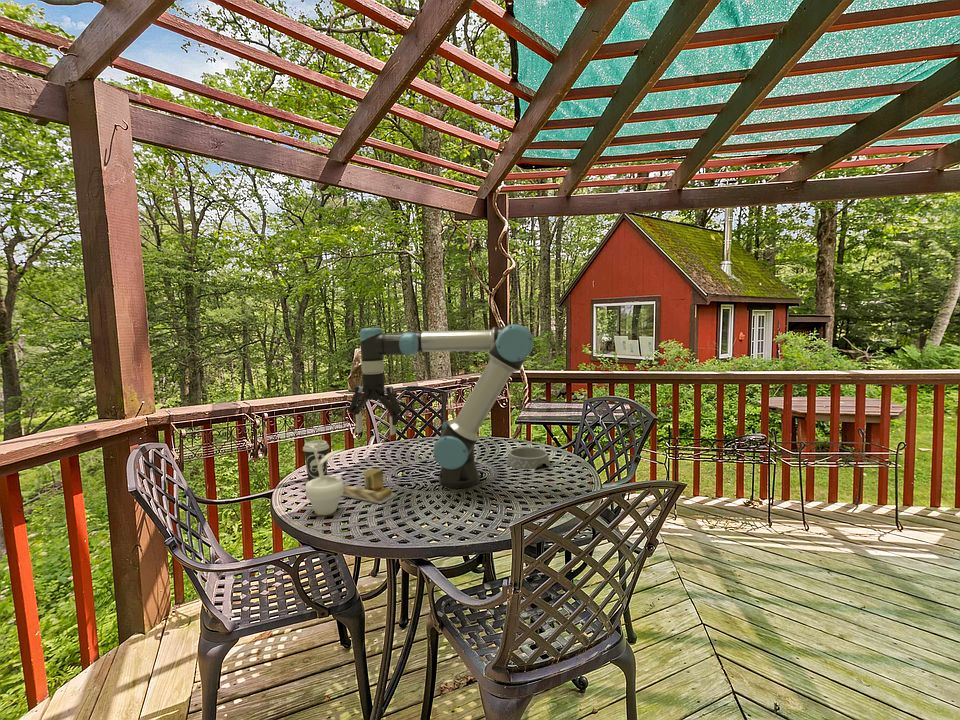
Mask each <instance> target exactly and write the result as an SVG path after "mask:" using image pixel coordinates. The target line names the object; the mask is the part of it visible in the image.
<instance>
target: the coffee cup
mask: <svg viewBox="0 0 960 720" xmlns="http://www.w3.org/2000/svg"><path fill="white" fill-rule="evenodd" d="M319 441H320V443H321V444H323V445H322V446H321V448H320V450H319V447H317V445H318V442H319ZM312 445H313V446H314V447H315V448H316V449H317V454H319V458H318V462H319V463H320V460H321V459H322V455H324V456H325V455H327V454H328V453H329V448H330V445H329V444H328V441H326V440H323V439H322V440H320V439H317V440H311V441H307V442H305V443H304V446H303V447H302V451H303V453H304V459H305V465H306V466H305V467H306V472H307V480H308V481H310V480H313V479H316V478H319V477H320V476H319V472H318V469H317V465H318V464H317V462H316V458H315V454H314V450H313V448H310V447H309V446H312ZM317 457H318V456H317ZM321 466H322V469H323V473H324V476H326V475H328V460H327V461H325V462H324V463H323V464H321ZM308 481H307V482H308Z"/></svg>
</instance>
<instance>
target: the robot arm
mask: <svg viewBox="0 0 960 720" xmlns="http://www.w3.org/2000/svg"><path fill="white" fill-rule="evenodd" d="M359 346H360V347H359V348H360V356H361V357H360V359H361V361H360V364H361V367H360V368H361V373H362V374H361V380H362V381H361V382H362V385H363V386H362V385H358V386H355V387H354V395H353V397H352V399H351V402H350V405H349V407H348V413H352V414H353V422H354V424H355V429H356V434H360V433H362V432H364V430H363V428H364V427H363V413H362V412H361V411H362V409H363V408H364V407H365V405H366V404H367V402H368V401H369V400H370V401H372V400H375V401H379V402H381V404H382V405H383V406H384V408H385V409H386V410H387V412H388V413H389V414H390V415H389V433H390V436H393V435H396V434H397V425H398V421H399V420H398V415H400V414H402V413H403V409H402V407H401V405H400V403H399V401H398V398H397V397H396V395H395V392H394V388H393V386H392V385H391V386H387V387H385V373H384V372H385V366H384V365H385V362H384V356H410V355H415V354H417V353H427V352H429V353H431V352H433V353H435V352H436V353H437V352H488V356H489V360H488V362H487V364H486V367H484V370H483V371H482V373H481V374H480V376H479V378H478V380H477V382H476V383H475V385H474V387H473V388H472V390H471V391H470V393H469V395H468V396H467V399H466V401H465V402H464V404H463V405H462V407H461V409H460V411H459V413H458V414H457V415H456V417H455V419H452V420H447V421H443V423H442V427H441V430H442V431H441V432H442V433H441V435H440V436H439V438H438V439H437V440H436V441H435V443H434V445H433V453H432V454H433V458H434V459H435V461H436V463H437V464H438V466H440V467H441V469H440V472H439V476H438V483H440V484H439V485H440V486H442V487H444V488H448V489H467V487H468V488H470V487H471V486H472V487H475V486H477V485H478V484H479V483H480V474H479V469H478V467H477V465H476V462H475V446H476V443H477V442H478V440H479V435H478V431H479V430H480V428H481V426H482V425H483V423H484V421H485V420H486V417H488V415H489V413H490V411H491V409H492V408H493V406H494V404H495V403H496V401H497V399H498V398H499V396H500V394H501V392H502V391H503V390H504V387H506V384H507V383H508V380H509V379H510V378H511V375H512V374H513V373H515V372H519V371H520V369H521V368H522V366H523V364H524V363H525V360H526V359H527V358H528V357H529V356H530V355H531V352H532V351H533V349H534V337H533V334H532V332H531V331H530V329H528V327H526V326H525V325H523V324H520V323H519V324H518V323H514V324H513V323H512V324H508V325H505V326H493V327H492V329H476V330H475V329H473V330H471V329H469V330H430V331H429V330H427V331H426V330H423V331H416V330H415V331H414V330H412V331H411V330H409V331H408V330H407V331H404V332H403V331H402V332H391V333H389V332H388V333H387V332H383V329H382V327H367V328H366V327H364V328H362V329H360V331H359ZM363 393H364V394H363ZM362 394H363V396H362ZM361 396H362V397H361ZM476 484H477V485H476ZM474 485H475V486H474Z"/></svg>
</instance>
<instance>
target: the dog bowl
mask: <svg viewBox="0 0 960 720" xmlns="http://www.w3.org/2000/svg"><path fill="white" fill-rule="evenodd" d="M506 464H507V465H508V466H510V467H512V468H516V469H536V470H537V468H540V467H539V466H541V467H542V466H544V465H543V464H545V465H546V467H547V466H549V465H550V466H551V463H550V458H549V453H548V452H547V450H546V449H543V448H540V447H534V446H533V447H531V446H530V447H529V446H525V447H524V446H523V447H515V448H512V449H511V450H509V451H508V456H507V460H506ZM507 465H506V466H507ZM508 466H507V467H508ZM550 466H549V467H550Z"/></svg>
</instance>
